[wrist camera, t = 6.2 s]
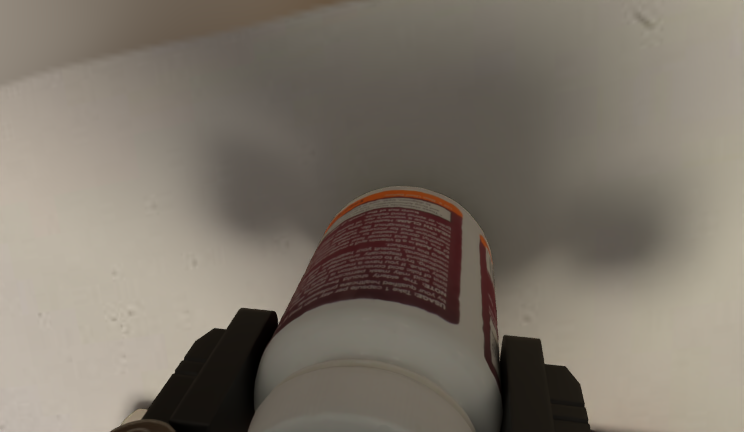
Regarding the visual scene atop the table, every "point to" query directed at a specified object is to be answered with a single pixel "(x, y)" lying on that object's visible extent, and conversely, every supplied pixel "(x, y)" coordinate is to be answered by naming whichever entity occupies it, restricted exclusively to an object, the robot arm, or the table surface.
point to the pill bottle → (388, 325)
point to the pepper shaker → (135, 416)
